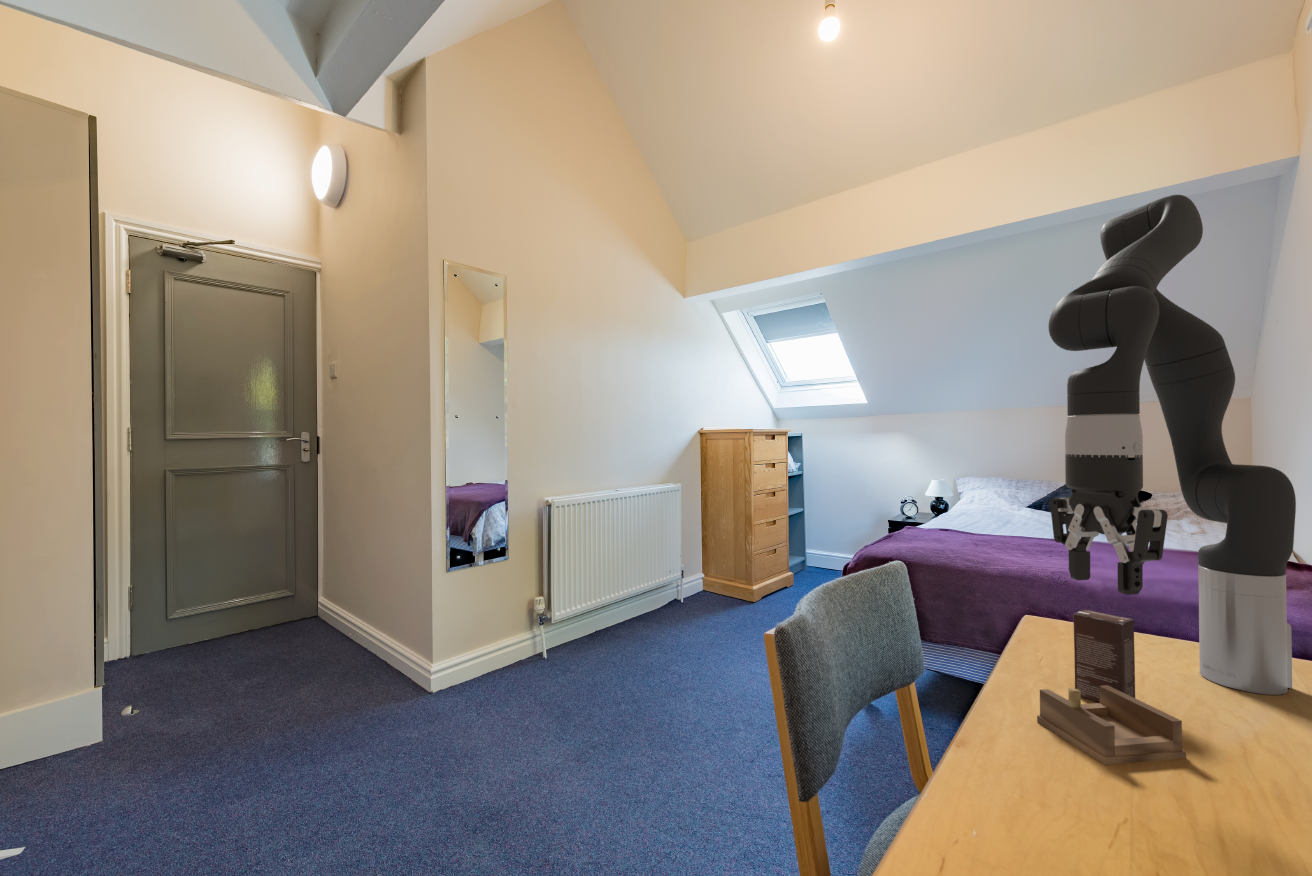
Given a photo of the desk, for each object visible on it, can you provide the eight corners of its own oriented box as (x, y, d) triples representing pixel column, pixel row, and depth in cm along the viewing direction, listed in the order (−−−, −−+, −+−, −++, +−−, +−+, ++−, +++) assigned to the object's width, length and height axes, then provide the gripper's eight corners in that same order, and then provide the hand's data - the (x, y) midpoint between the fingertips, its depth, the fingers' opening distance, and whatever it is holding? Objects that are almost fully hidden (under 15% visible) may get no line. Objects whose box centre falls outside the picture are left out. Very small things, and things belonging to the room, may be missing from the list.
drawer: (1108, 717, 74) (1107, 669, 74) (1186, 760, 64) (1185, 704, 64) (1037, 723, 73) (1036, 673, 73) (1105, 766, 63) (1104, 709, 63)
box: (1136, 703, 78) (1135, 618, 78) (1124, 712, 76) (1122, 624, 76) (1086, 687, 83) (1085, 607, 83) (1072, 695, 81) (1071, 612, 81)
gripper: (1029, 450, 76) (1030, 573, 76) (1130, 453, 61) (1132, 604, 61) (1080, 450, 76) (1080, 571, 76) (1191, 452, 62) (1192, 602, 62)
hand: (1103, 585), depth 69 cm, fingers open, 6 cm apart
